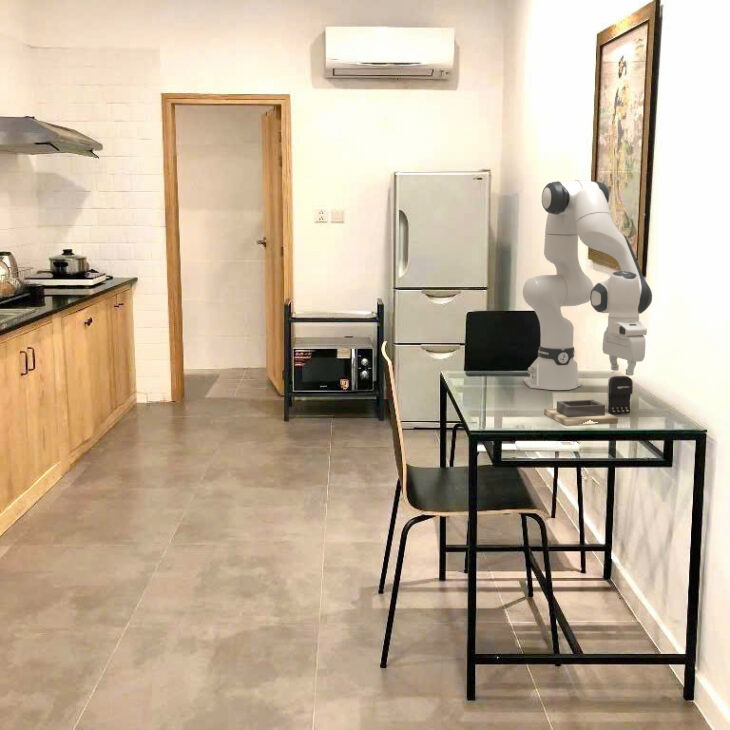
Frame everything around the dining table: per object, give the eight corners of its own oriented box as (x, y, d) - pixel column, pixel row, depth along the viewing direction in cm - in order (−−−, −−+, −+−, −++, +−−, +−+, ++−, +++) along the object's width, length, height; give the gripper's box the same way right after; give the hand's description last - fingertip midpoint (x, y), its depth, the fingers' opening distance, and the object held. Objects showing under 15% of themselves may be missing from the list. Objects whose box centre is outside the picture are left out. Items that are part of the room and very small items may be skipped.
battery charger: (610, 415, 270) (612, 378, 268) (605, 412, 274) (607, 375, 272) (633, 414, 271) (634, 377, 269) (628, 412, 275) (629, 375, 273)
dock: (544, 413, 273) (544, 399, 272) (593, 411, 276) (594, 396, 275) (565, 425, 258) (566, 410, 257) (617, 423, 261) (618, 407, 260)
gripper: (597, 323, 277) (596, 368, 279) (629, 330, 257) (628, 378, 259) (616, 322, 278) (615, 367, 280) (650, 329, 259) (648, 377, 261)
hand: (622, 372), depth 270 cm, fingers open, 8 cm apart
